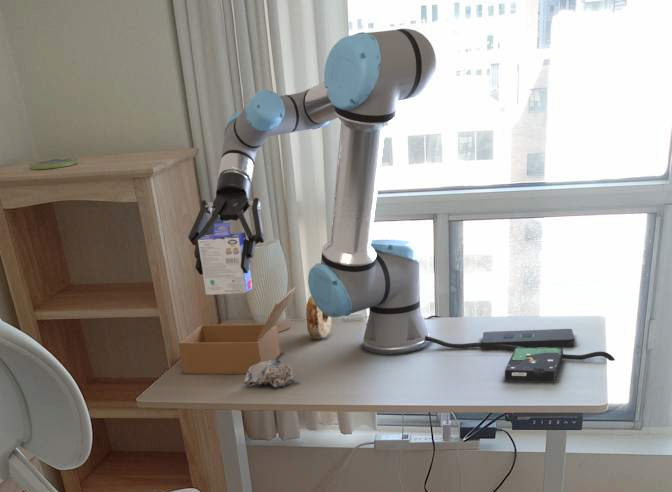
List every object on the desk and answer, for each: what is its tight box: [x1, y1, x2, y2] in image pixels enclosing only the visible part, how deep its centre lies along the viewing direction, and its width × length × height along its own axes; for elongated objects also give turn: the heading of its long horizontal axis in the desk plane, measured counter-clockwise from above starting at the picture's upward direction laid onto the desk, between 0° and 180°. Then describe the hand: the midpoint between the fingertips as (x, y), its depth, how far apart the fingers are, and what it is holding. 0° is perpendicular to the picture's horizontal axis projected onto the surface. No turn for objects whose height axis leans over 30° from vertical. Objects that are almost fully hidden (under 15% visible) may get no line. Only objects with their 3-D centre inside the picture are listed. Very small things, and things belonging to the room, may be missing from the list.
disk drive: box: [504, 347, 564, 383], centre depth 193 cm, size 10×3×15 cm
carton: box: [177, 323, 282, 375], centre depth 213 cm, size 19×14×7 cm
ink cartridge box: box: [198, 222, 253, 296], centre depth 206 cm, size 10×6×14 cm, turn 79°
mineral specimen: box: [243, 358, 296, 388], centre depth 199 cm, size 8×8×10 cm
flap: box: [257, 286, 297, 340], centre depth 206 cm, size 9×14×1 cm
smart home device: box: [482, 328, 575, 350], centre depth 210 cm, size 8×2×20 cm
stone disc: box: [305, 295, 332, 340], centre depth 224 cm, size 10×4×10 cm, turn 161°
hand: (221, 270), depth 205 cm, fingers closed on ink cartridge box, 10 cm apart
